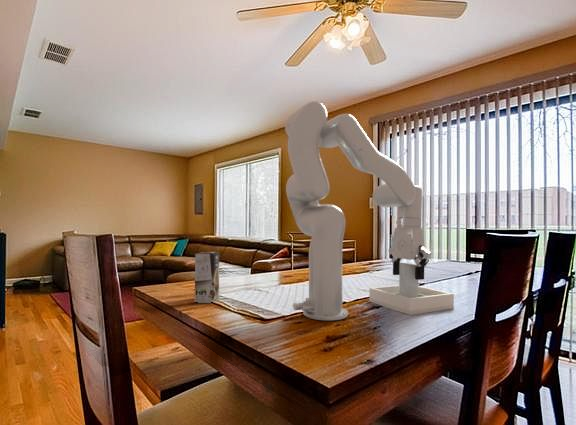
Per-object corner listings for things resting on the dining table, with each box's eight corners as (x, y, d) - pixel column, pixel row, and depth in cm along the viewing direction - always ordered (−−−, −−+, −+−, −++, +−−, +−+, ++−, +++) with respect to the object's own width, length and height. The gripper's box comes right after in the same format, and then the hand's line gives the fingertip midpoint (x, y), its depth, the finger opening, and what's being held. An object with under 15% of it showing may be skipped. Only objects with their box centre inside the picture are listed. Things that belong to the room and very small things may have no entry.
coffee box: (213, 303, 109) (214, 253, 110) (193, 303, 109) (194, 253, 110) (219, 297, 118) (220, 251, 119) (201, 297, 118) (201, 250, 119)
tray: (409, 315, 96) (409, 299, 96) (369, 301, 113) (369, 287, 113) (453, 308, 104) (453, 293, 104) (410, 296, 120) (409, 283, 120)
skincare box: (418, 303, 105) (418, 264, 106) (405, 303, 105) (405, 264, 106) (411, 299, 111) (411, 262, 112) (398, 298, 111) (398, 262, 112)
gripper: (381, 223, 115) (380, 273, 115) (421, 223, 100) (420, 281, 99) (398, 224, 118) (397, 273, 118) (439, 224, 103) (438, 281, 102)
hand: (407, 277), depth 108 cm, fingers open, 9 cm apart
